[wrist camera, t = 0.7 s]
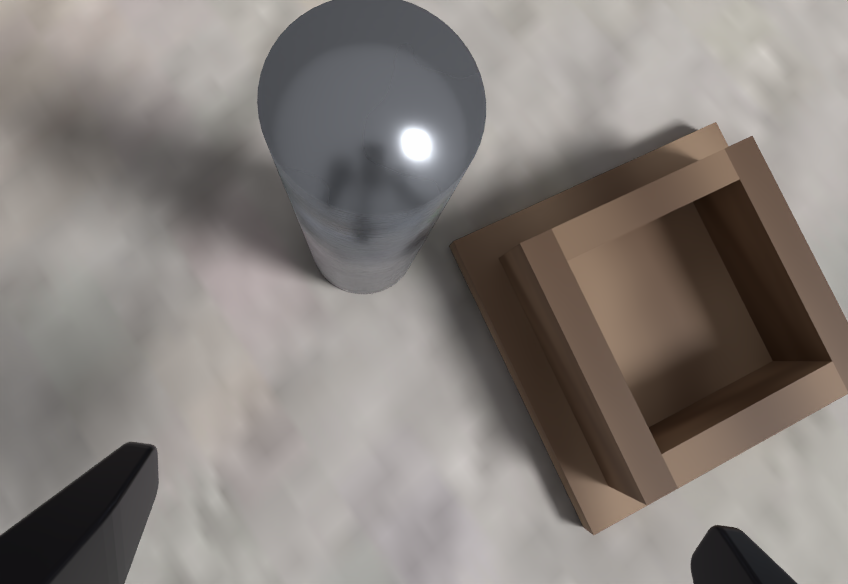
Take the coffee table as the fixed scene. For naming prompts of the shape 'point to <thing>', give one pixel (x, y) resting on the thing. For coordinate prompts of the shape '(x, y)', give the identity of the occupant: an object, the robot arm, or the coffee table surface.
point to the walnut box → (659, 320)
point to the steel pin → (369, 131)
